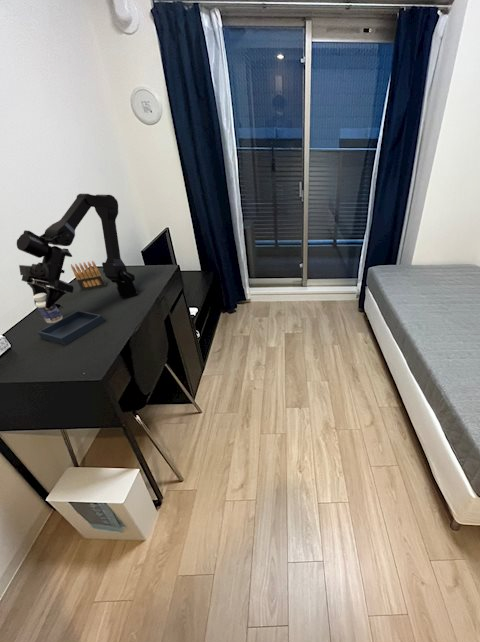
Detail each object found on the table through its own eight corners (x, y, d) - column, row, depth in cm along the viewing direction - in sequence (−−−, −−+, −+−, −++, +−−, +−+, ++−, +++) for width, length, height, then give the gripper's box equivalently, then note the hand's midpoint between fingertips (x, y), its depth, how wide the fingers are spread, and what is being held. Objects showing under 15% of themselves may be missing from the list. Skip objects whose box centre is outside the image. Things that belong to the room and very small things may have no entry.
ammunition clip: (81, 290, 154) (68, 265, 146) (82, 289, 155) (69, 263, 147) (106, 286, 156) (94, 261, 148) (106, 284, 157) (94, 259, 149)
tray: (81, 316, 134) (78, 310, 132) (104, 321, 130) (101, 315, 128) (41, 338, 122) (37, 332, 121) (65, 345, 118) (61, 338, 116)
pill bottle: (55, 324, 117) (39, 299, 111) (43, 323, 118) (26, 298, 112) (66, 316, 121) (51, 292, 115) (54, 315, 122) (38, 291, 116)
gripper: (9, 250, 110) (-2, 295, 110) (45, 255, 104) (33, 303, 104) (44, 264, 121) (34, 305, 121) (79, 270, 115) (68, 313, 115)
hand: (41, 306), depth 115 cm, fingers closed on pill bottle, 5 cm apart
